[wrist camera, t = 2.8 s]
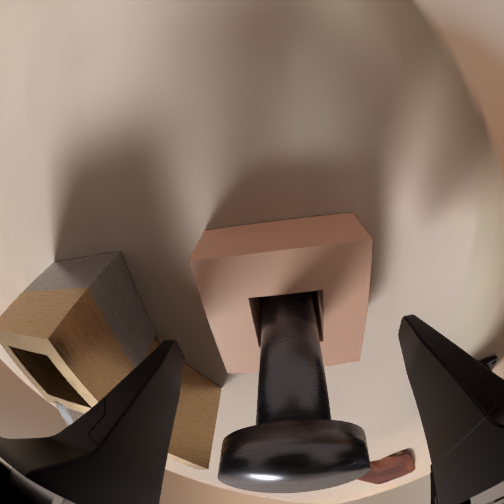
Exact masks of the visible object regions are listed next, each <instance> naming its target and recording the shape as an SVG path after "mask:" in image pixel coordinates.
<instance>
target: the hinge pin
mask: <svg viewBox="0 0 504 504" xmlns="http://www.w3.org/2000/svg"><path fill="white" fill-rule="evenodd" d="M369 470H370V460H369V454H368V448H367V442H366V436H365V432H364V430H363V429H362V428H361V427H359V426H358V425H355V424H352V423H349V422H344V421H336V420H331V415H330V407H329V399H328V392H327V385H326V378H325V371H324V365H323V358H322V352H321V346H320V340H319V334H318V329H317V323H316V317H315V312H314V306H313V301H312V296H311V291H309V292H301V293H292V294H283V295H273V296H263V306H262V327H261V347H260V365H259V383H258V400H257V416H256V425H255V426H250V427H246V428H243V429H240V430H237V431H235V432H233V433H231V434H229V435H228V436H226V437H225V438H224V440H223V443H222V450H221V457H220V464H219V471H218V479H219V480H220V481H221V482H222V483H224V484H226V485H229V486H232V487H235V488H239V489H243V490H249V491H256V492H266V493H297V492H307V491H315V490H321V489H326V488H331V487H335V486H338V485H342V484H345V483H348V482H351V481H353V480H355V479H358V478H360V477H362V476H363V475H365V474H366V473H367V472H369Z"/></svg>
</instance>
